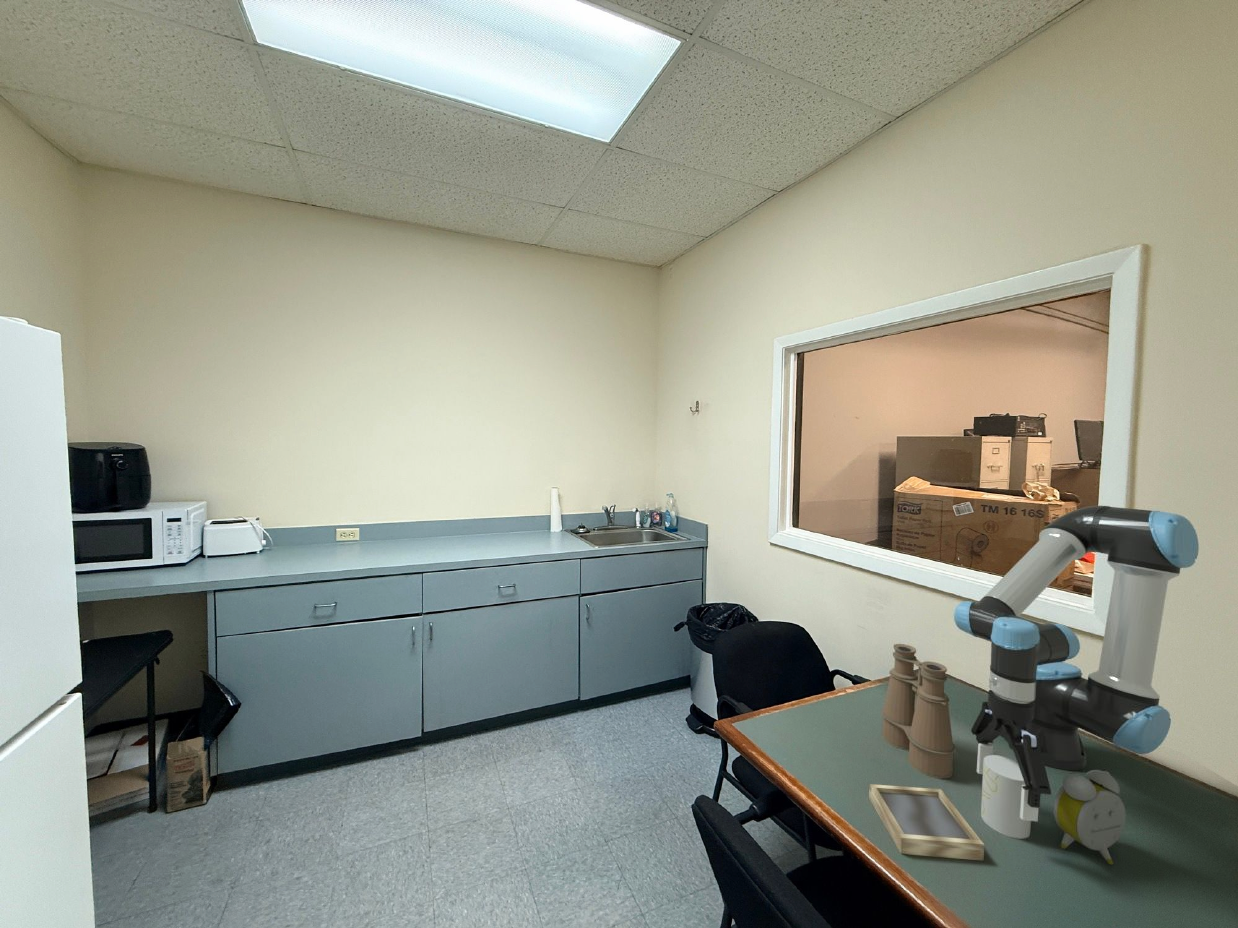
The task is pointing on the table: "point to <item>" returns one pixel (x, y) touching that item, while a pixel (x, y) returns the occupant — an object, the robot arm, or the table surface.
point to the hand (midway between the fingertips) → (1004, 794)
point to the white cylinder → (1003, 797)
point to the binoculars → (919, 713)
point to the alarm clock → (1090, 811)
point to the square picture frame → (925, 822)
